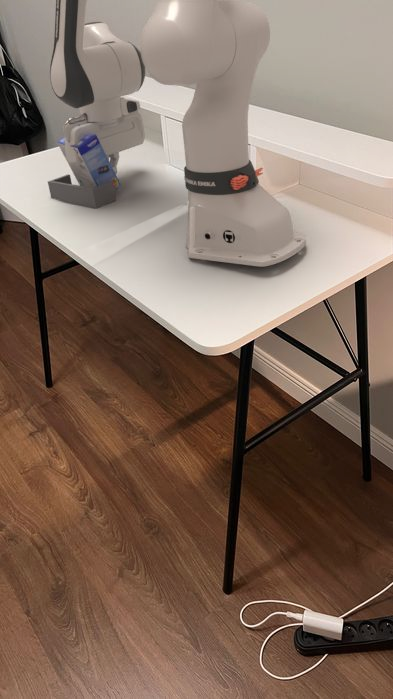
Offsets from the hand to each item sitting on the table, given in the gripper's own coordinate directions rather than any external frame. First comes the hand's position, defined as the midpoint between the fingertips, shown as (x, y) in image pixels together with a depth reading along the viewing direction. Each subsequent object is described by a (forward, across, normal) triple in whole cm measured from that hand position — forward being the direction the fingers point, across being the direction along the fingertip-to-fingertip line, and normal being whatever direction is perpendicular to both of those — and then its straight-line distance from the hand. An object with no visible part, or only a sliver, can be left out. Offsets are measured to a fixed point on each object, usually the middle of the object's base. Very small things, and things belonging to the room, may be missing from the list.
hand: (111, 174), depth 138 cm
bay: (+3, -9, 0) cm, 10 cm away
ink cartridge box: (+2, -3, 0) cm, 4 cm away
